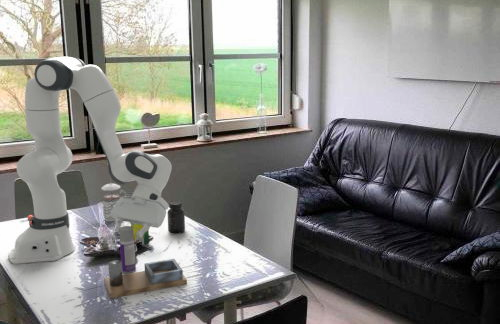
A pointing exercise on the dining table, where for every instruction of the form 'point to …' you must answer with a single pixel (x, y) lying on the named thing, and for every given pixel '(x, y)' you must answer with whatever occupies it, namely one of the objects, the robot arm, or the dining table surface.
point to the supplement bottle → (176, 218)
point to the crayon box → (145, 236)
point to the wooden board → (149, 279)
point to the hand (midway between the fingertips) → (127, 234)
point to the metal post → (115, 273)
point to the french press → (109, 198)
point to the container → (127, 249)
